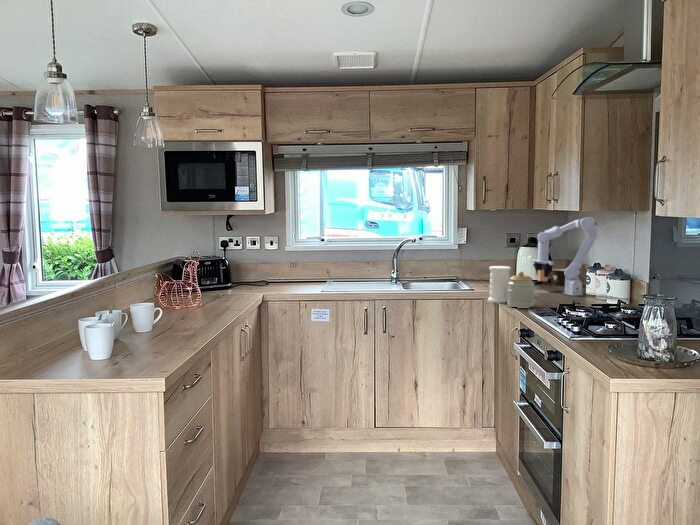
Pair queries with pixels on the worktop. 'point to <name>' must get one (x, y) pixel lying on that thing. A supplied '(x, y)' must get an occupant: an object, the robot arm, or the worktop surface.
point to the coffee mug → (558, 277)
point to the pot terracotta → (541, 276)
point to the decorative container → (499, 283)
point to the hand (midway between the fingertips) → (542, 276)
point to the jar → (520, 291)
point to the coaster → (540, 291)
